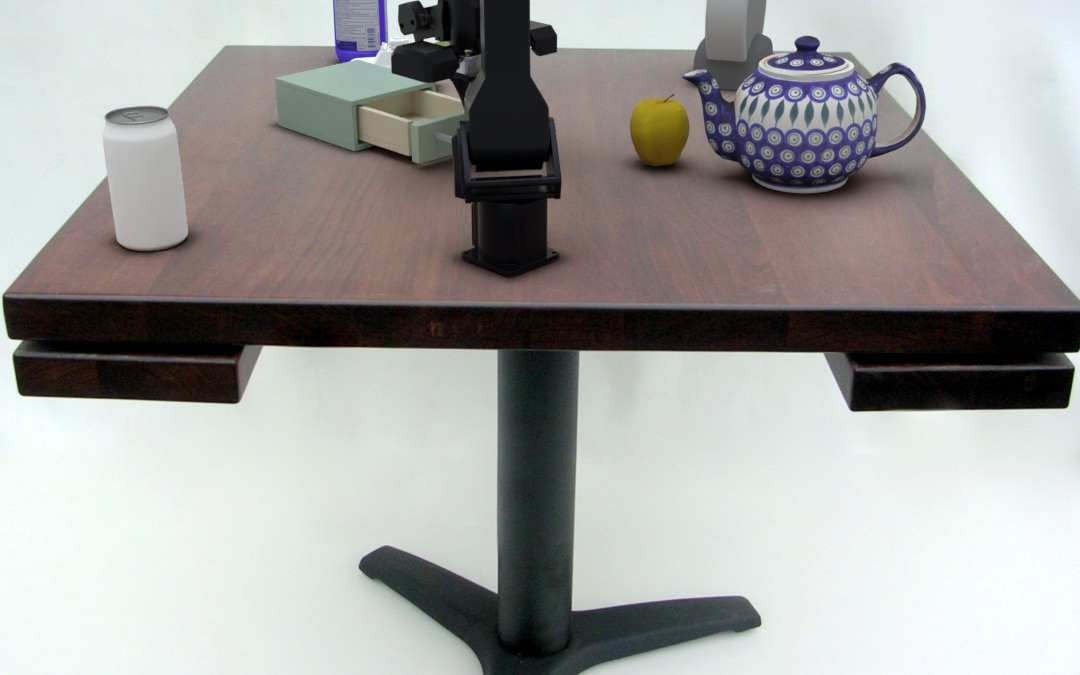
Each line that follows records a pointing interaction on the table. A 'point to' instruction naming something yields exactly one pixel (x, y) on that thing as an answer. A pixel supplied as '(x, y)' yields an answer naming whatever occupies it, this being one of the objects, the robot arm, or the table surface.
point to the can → (144, 178)
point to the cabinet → (337, 99)
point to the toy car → (385, 52)
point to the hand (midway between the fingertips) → (477, 130)
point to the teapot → (802, 118)
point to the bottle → (359, 28)
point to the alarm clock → (733, 41)
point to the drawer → (411, 124)
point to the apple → (659, 130)
